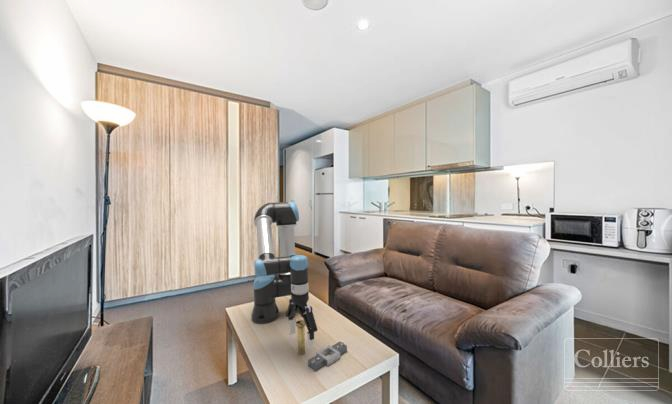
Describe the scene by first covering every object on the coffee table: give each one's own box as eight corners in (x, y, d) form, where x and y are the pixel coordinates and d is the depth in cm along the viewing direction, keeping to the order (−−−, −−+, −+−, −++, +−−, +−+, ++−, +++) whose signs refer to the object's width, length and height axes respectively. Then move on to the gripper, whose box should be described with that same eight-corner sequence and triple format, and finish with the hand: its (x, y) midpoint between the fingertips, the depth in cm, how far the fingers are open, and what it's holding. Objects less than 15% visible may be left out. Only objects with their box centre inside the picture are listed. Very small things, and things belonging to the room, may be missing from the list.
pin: (294, 352, 112) (294, 322, 111) (302, 348, 115) (301, 319, 114) (300, 357, 109) (299, 326, 108) (308, 352, 112) (307, 322, 111)
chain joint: (317, 373, 99) (316, 366, 99) (306, 364, 105) (305, 357, 104) (349, 352, 112) (349, 346, 111) (337, 345, 117) (337, 339, 117)
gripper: (277, 286, 117) (279, 331, 118) (310, 303, 99) (311, 356, 100) (291, 282, 122) (292, 325, 123) (325, 297, 104) (326, 348, 105)
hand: (301, 339), depth 111 cm, fingers open, 13 cm apart
